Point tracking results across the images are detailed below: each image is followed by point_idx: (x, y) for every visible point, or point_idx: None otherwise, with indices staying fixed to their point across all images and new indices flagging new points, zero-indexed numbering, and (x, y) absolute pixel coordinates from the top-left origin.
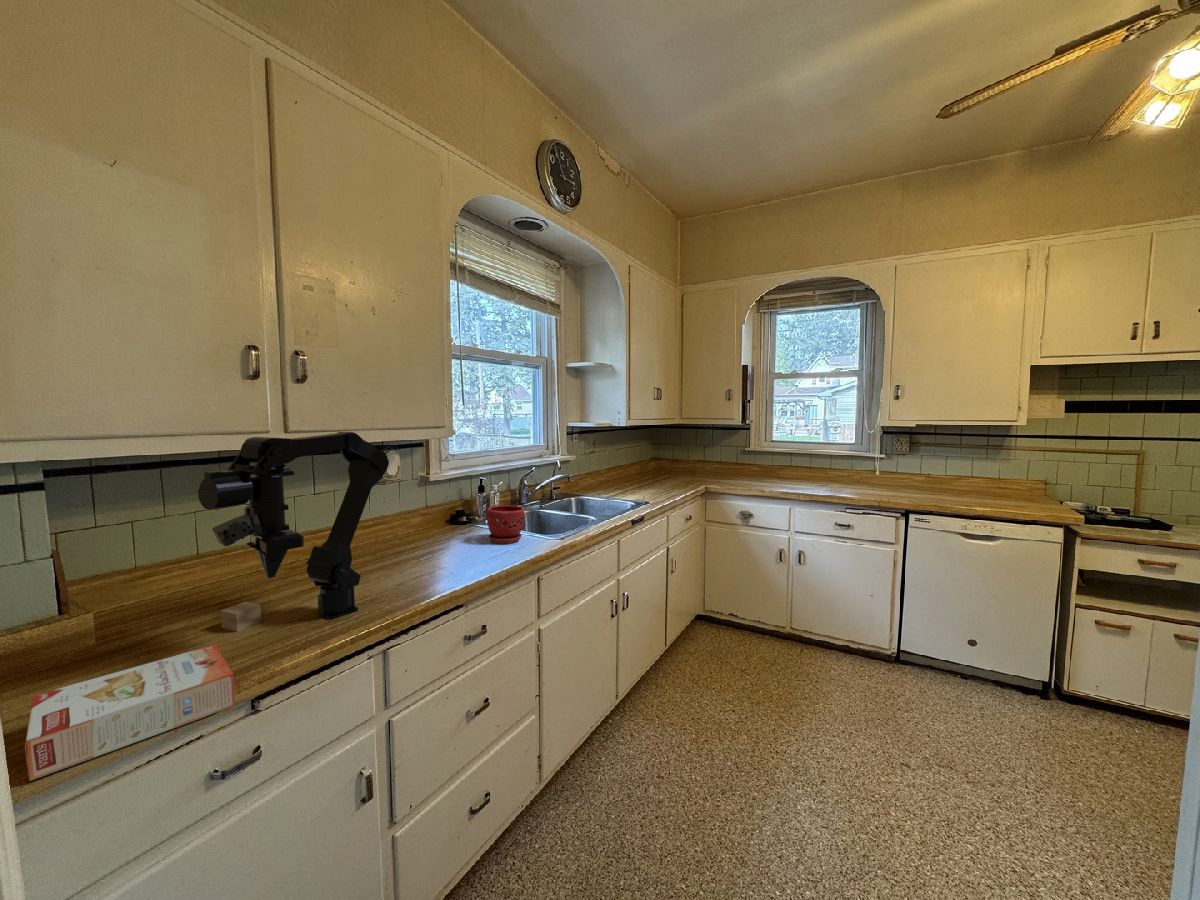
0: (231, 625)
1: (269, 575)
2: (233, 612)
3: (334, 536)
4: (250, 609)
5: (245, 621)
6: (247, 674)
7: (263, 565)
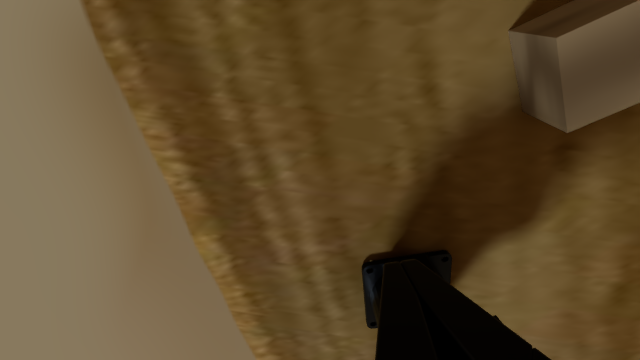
0: (553, 16)
1: (382, 280)
2: (588, 30)
3: None
4: (560, 94)
5: (530, 64)
6: (94, 3)
7: (470, 322)
